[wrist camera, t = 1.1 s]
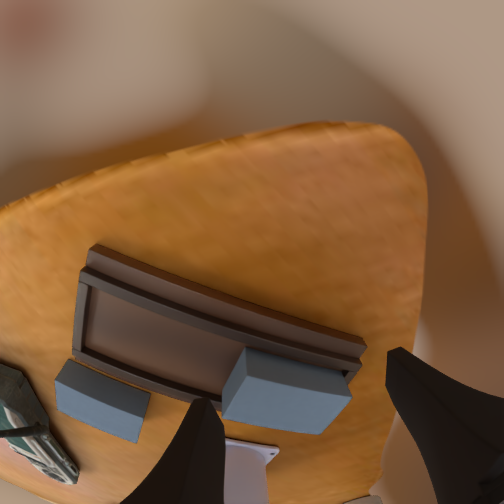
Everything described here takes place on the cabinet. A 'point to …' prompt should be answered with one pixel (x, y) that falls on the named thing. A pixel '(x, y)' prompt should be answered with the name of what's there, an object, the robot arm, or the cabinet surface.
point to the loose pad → (100, 401)
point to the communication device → (31, 428)
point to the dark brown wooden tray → (186, 330)
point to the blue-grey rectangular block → (283, 393)
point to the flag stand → (366, 500)
